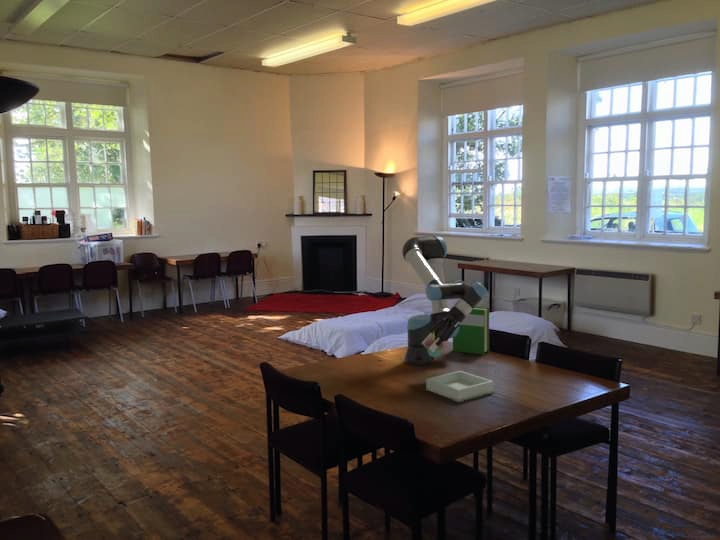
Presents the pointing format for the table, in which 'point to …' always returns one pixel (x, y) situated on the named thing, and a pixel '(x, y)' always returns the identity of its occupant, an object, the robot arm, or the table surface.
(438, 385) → the box
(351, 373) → the table surface
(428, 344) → the cupcake
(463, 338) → the hardback book
